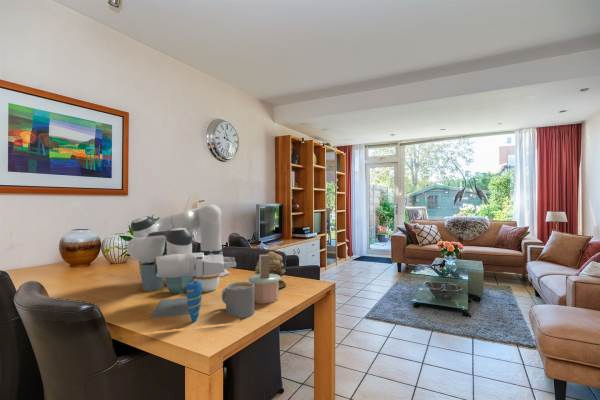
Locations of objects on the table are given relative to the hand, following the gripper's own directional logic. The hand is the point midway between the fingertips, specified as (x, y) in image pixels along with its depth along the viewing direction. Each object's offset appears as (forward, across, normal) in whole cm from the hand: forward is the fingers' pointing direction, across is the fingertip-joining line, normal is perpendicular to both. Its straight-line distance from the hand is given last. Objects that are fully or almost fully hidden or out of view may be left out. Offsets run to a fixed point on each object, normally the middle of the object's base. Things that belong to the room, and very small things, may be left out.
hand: (235, 261), depth 121 cm
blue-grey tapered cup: (-36, -31, -16) cm, 50 cm away
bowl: (+12, 0, -16) cm, 20 cm away
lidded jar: (-11, -19, -16) cm, 28 cm away
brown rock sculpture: (+17, -16, -16) cm, 28 cm away
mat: (-21, +1, -16) cm, 27 cm away
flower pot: (-23, -20, -16) cm, 35 cm away
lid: (+12, 0, -8) cm, 14 cm away
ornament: (-14, +18, -16) cm, 28 cm away
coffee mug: (0, +12, -16) cm, 20 cm away
